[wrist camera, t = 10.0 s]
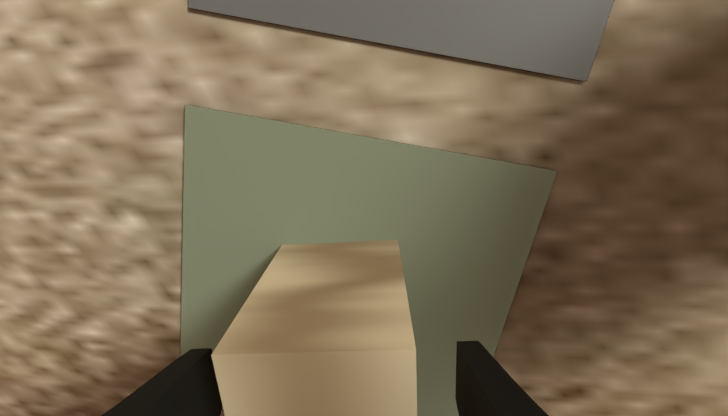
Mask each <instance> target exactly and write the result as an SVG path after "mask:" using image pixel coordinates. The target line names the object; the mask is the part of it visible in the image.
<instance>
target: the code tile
mask: <svg viewBox="0 0 728 416" xmlns="http://www.w3.org/2000/svg"><path fill="white" fill-rule="evenodd" d="M613 3H614V0H188V8H191V9H197V10H202V11H207V12H213V13H218V14H224V15H229V16H234V17H240V18H245V19H251V20H256V21H261V22H267V23H272V24H278V25H283V26H288V27H294V28H299V29H304V30H310V31H315V32H321V33H326V34H331V35H337V36H342V37H348V38H353V39H358V40H364V41H369V42H375V43H380V44H385V45H391V46H396V47H402V48H407V49H412V50H418V51H423V52H429V53H434V54H439V55H445V56H450V57H456V58H461V59H466V60H472V61H477V62H483V63H488V64H493V65H499V66H504V67H510V68H515V69H520V70H526V71H531V72H537V73H542V74H547V75H553V76H558V77H563V78H569V79H574V80H580V81H587V79H588V76H589V73H590V70H591V67H592V64H593V61H594V58H595V56H596V53H597V50H598V47H599V44H600V41H601V38H602V35H603V32H604V29H605V26H606V24H607V21H608V18H609V15H610V12H611V9H612V6H613Z"/></svg>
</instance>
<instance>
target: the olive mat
mask: <svg viewBox="0 0 728 416" xmlns="http://www.w3.org/2000/svg"><path fill="white" fill-rule="evenodd" d="M556 174H557V171H555V170H550V169H544V168H538V167H533V166H527V165H522V164H516V163H510V162H505V161H499V160H494V159H488V158H482V157H477V156H471V155H466V154H460V153H455V152H449V151H443V150H438V149H432V148H427V147H421V146H415V145H410V144H404V143H399V142H393V141H388V140H382V139H376V138H371V137H365V136H360V135H354V134H348V133H343V132H337V131H332V130H326V129H321V128H315V127H309V126H304V125H298V124H293V123H287V122H281V121H276V120H270V119H265V118H259V117H253V116H248V115H242V114H237V113H231V112H226V111H220V110H214V109H209V108H203V107H198V106H192V105H185V130H184V187H183V243H182V299H181V356H182V355H183V354H185V353H186V352H188V351H189V350H191V349H200V348H212V352H213V351H214V350H215V348H216V347H217V345H218V344H219V342H220V340H221V339H222V337H223V336H224V334H225V333H226V331H227V330H228V328H229V326H230V325H231V323H232V322H233V320H234V319H235V317H236V316H237V314H238V312H239V311H240V309H241V308H242V306H243V305H244V303H245V302H246V300H247V298H248V297H249V295H250V294H251V292H252V291H253V289H254V288H255V286H256V284H257V283H258V281H259V280H260V278H261V277H262V275H263V274H264V272H265V270H266V269H267V267H268V266H269V264H270V263H271V261H272V260H273V258H274V256H275V255H276V253H277V252H278V250H279V249H280V247H281V246H282V245H288V244H312V243H335V242H359V241H383V240H398V243H399V249H400V255H401V261H402V267H403V273H404V279H405V285H406V291H407V297H408V303H409V309H410V316H411V322H412V328H413V334H414V340H415V346H416V374H417V416H459V414H458V409H457V404H456V399H455V394H456V349H457V341H479V342H480V343H481V344H482V345H483V346H484V347H485V348H486V349H487V351H488V352H489V353H490V354H491V355H492V356H494V353H495V350H496V348H497V345H498V342H499V339H500V336H501V333H502V330H503V327H504V324H505V322H506V319H507V316H508V313H509V310H510V307H511V304H512V301H513V298H514V295H515V293H516V290H517V287H518V284H519V281H520V278H521V275H522V272H523V269H524V266H525V264H526V261H527V258H528V255H529V252H530V249H531V246H532V243H533V240H534V237H535V235H536V232H537V229H538V226H539V223H540V220H541V217H542V214H543V211H544V209H545V206H546V203H547V200H548V197H549V194H550V191H551V188H552V185H553V182H554V180H555V177H556ZM181 356H180V357H181ZM222 408H223V407H222Z"/></svg>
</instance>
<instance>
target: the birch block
mask: <svg viewBox="0 0 728 416" xmlns="http://www.w3.org/2000/svg"><path fill="white" fill-rule="evenodd" d="M211 356H212V361H213V365H214V370H215V374H216V379H217V383H218V388H219V392H220V396H221V401H222V405H223V410H224V414H225V416H417V374H416V346H415V340H414V334H413V328H412V322H411V316H410V309H409V303H408V297H407V291H406V285H405V279H404V273H403V267H402V261H401V255H400V249H399V243H398V240H383V241H359V242H335V243H312V244H288V245H282V246H281V247H280V249H279V250H278V252H277V253H276V255H275V256H274V258H273V260H272V261H271V263H270V264H269V266H268V267H267V269H266V270H265V272H264V274H263V275H262V277H261V278H260V280H259V281H258V283H257V284H256V286H255V288H254V289H253V291H252V292H251V294H250V295H249V297H248V298H247V300H246V302H245V303H244V305H243V306H242V308H241V309H240V311H239V312H238V314H237V316H236V317H235V319H234V320H233V322H232V323H231V325H230V326H229V328H228V330H227V331H226V333H225V334H224V336H223V337H222V339H221V340H220V342H219V344H218V345H217V347H216V348H215V350H214V351H213V353H212V354H211Z"/></svg>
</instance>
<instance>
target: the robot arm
mask: <svg viewBox="0 0 728 416" xmlns="http://www.w3.org/2000/svg"><path fill="white" fill-rule="evenodd" d="M212 353H213V352H212V348H200V349H191V350H189V351H188V352H186V353H185V354H183V355H182V356H181V357H179V358H178V359H177V360H175V361H174V362H173V363H171V364H170V365H169V366H167V367H166V368H165V369H163V370H162V371H161V372H159V373H158V374H157V375H155V376H154V377H153V378H152V379H150V380H149V381H148V382H146V383H145V384H144V385H142V386H141V387H140V388H138V389H137V390H136V391H134V392H133V393H132V394H131V395H129V396H128V397H127V398H125V399H124V400H123V401H121V402H120V403H119V404H117V405H116V406H114V407H113V408H112V409H110V410H109V411H107V412H106V413H105V414H103V415H102V416H220V413H221V410H222V407H223V405H222V401H221V396H220V392H219V388H218V383H217V379H216V374H215V370H214V365H213V361H212V356H211V354H212ZM455 399H456V404H457V409H458V414H459V416H548V415H547V414H546V413H545V412H544V411H543V410H542V409H541V408H540V407H539V406H538V405H537V404H536V403H535V402H534V401H533V400H532V399H531V398H530V397H529V396H528V395H527V393H526V392H525V391H524V390H523V389H522V388H521V387H520V386H519V385H518V384H517V383H516V382H515V381H514V380H513V379H512V378H511V377H510V376H509V374H508V373H507V372H506V371H505V370H504V369H503V368H502V367H501V366H500V364H499V363H498V362H497V361H496V360H495V359H494V358H493V356H492V355H491V354H490V353H489V352H488V351H487V349H486V348H485V347H484V346H483V345H482V344H481V343H480V342H479V341H457V349H456V394H455Z"/></svg>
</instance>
